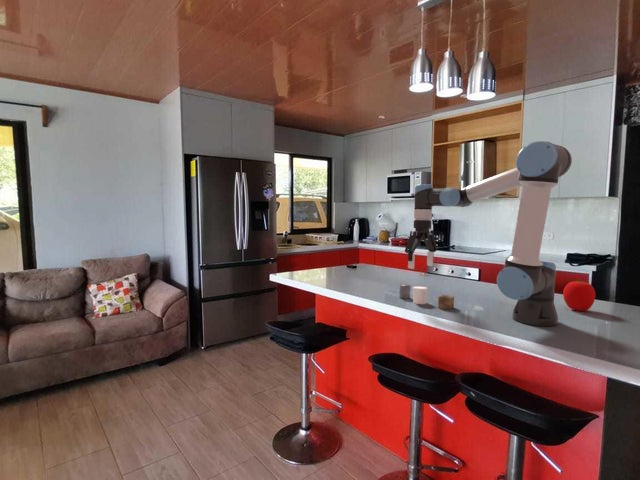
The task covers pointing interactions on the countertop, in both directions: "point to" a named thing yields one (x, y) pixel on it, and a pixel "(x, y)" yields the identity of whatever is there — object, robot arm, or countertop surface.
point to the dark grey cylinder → (404, 291)
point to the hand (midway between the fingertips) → (420, 267)
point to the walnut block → (446, 302)
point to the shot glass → (419, 294)
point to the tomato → (579, 295)
